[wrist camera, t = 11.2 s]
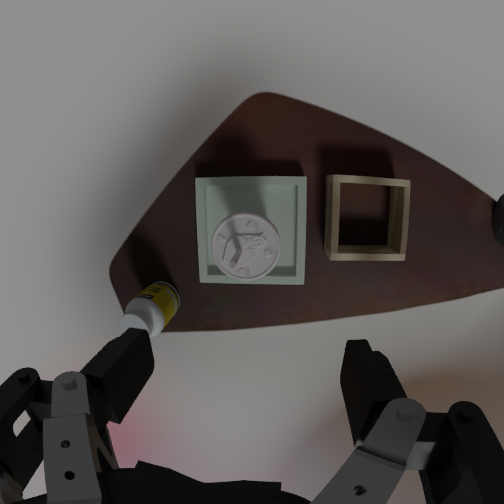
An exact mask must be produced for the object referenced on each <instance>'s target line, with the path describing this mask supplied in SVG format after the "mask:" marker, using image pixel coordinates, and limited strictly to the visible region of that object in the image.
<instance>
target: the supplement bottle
mask: <svg viewBox="0 0 504 504" xmlns="http://www.w3.org/2000/svg"><path fill="white" fill-rule="evenodd" d="M179 305H180V297H179V294H178V292H177V291H176V289H175V288H174V287H173V286H172V285H170V284H169V283H167V282H163V281H158V282H154V283H152V284H151V285H149V286H148V287H147V288H146V289H145V290H143V291H142V292H141V293H140V294H139V295H138V296H136V297H135V298H134V299H133V300H132V301H131V302H130V303H129V304H128V305H127V307H126V310H125V314H124V315H123V316H122V317H121V319H120V328H121V331H122V333H124V332H125V331H126V330H127V329H128V328H130V327H132V328H139V329H146V330H147V331H148V333H149V337H154V336H156V335H158V334H159V333H160V332H161V331H162V330H163V328H164V327H165V326H166V324H167V323H168V322H169V321H170V319H171V318H172V317H173V315H174V314H175V313H176V311H177V310H178V308H179Z"/></svg>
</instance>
